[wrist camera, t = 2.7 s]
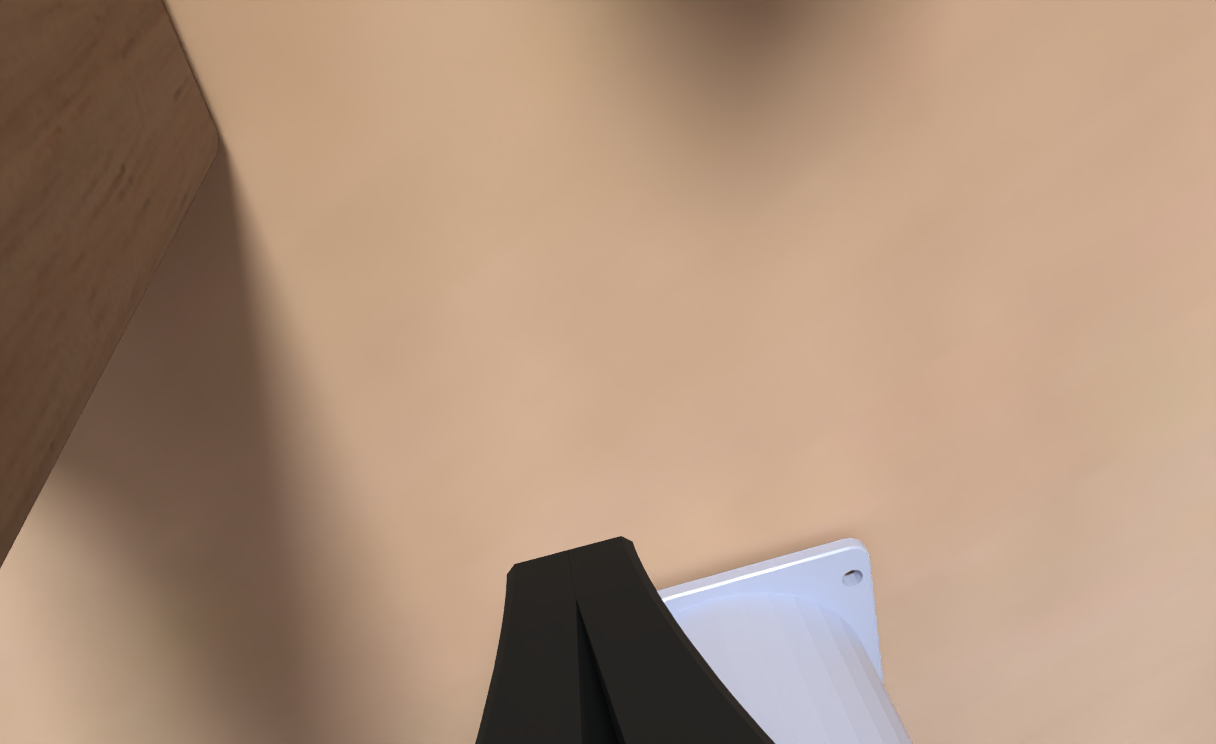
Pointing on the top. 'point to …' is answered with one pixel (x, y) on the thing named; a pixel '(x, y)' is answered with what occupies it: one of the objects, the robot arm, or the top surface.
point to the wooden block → (82, 208)
